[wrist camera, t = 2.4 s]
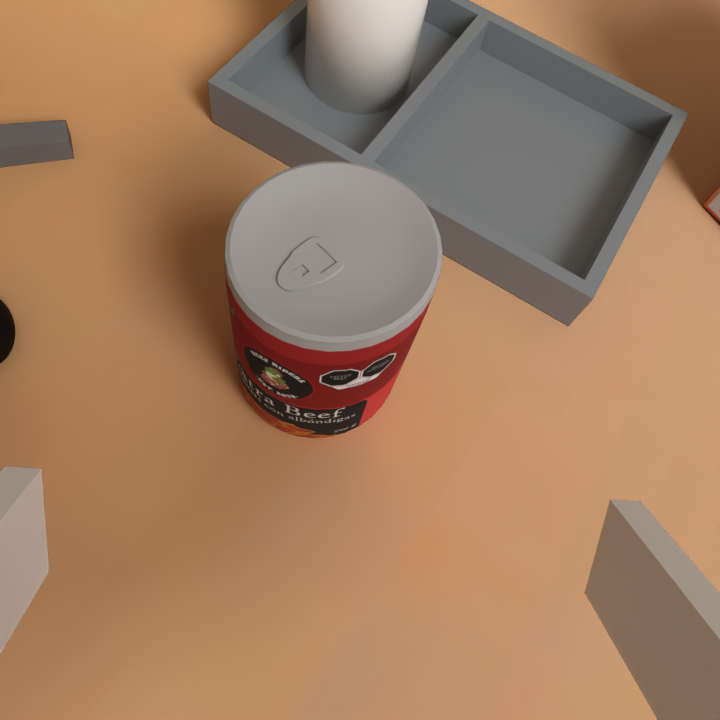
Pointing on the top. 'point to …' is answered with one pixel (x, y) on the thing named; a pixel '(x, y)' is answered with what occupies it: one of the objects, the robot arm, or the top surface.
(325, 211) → the canned food
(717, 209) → the cracker box
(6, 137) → the toy submachine gun
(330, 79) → the ceramic jar
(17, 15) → the top surface
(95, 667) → the top surface
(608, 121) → the caddy
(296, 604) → the top surface
